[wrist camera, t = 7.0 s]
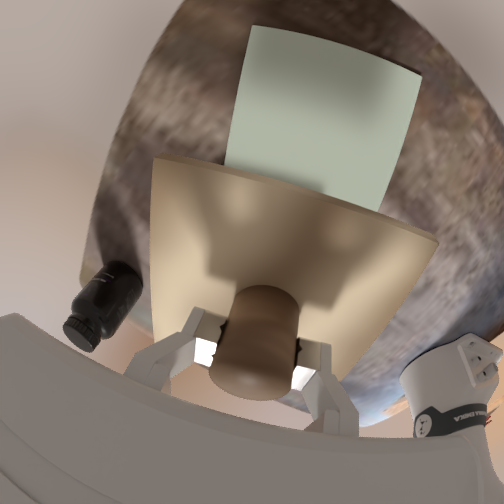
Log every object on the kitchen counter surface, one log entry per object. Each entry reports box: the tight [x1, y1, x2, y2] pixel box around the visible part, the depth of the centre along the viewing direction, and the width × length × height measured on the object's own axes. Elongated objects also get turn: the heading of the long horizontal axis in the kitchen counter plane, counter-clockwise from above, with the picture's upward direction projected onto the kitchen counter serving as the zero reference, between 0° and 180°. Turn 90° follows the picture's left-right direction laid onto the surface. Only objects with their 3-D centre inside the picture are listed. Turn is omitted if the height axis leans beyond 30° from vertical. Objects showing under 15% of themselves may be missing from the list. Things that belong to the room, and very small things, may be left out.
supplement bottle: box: [63, 261, 142, 353], centre depth 31 cm, size 7×7×12 cm
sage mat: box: [224, 25, 422, 212], centre depth 21 cm, size 15×15×1 cm
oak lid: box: [150, 153, 439, 401], centre depth 12 cm, size 12×12×5 cm
